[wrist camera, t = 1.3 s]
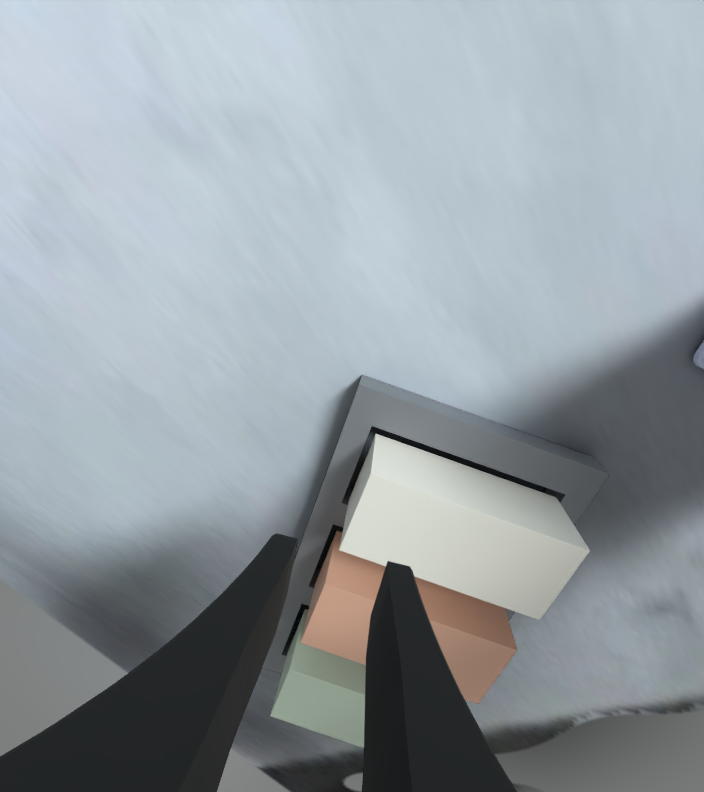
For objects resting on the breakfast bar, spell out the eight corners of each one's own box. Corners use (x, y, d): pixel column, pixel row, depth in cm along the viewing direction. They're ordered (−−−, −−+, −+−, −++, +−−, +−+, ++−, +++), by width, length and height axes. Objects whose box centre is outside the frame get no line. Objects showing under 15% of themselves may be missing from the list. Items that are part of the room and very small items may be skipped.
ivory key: (556, 497, 18) (590, 550, 15) (516, 559, 20) (539, 620, 17) (375, 433, 18) (370, 473, 15) (348, 500, 20) (339, 550, 17)
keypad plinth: (594, 457, 19) (610, 473, 18) (433, 701, 26) (435, 726, 25) (362, 374, 19) (359, 384, 18) (264, 643, 26) (256, 665, 25)
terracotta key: (498, 587, 21) (517, 650, 17) (466, 637, 22) (478, 704, 19) (336, 530, 21) (325, 583, 17) (315, 584, 22) (300, 642, 19)
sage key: (451, 659, 23) (460, 727, 20) (425, 700, 24) (429, 770, 21) (305, 608, 23) (289, 668, 19) (287, 653, 24) (269, 716, 21)
